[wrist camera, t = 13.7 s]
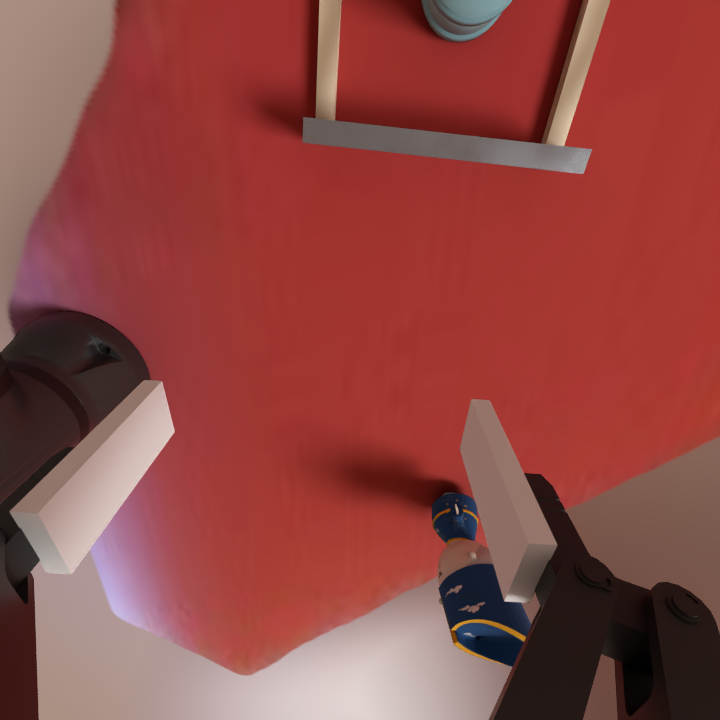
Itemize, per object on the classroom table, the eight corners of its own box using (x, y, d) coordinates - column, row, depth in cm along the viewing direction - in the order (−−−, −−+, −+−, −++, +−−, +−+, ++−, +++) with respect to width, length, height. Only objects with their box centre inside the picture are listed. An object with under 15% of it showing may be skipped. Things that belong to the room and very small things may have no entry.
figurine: (419, 468, 51) (436, 630, 34) (489, 459, 50) (545, 623, 32) (433, 529, 57) (454, 693, 40) (496, 522, 56) (547, 690, 38)
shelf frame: (316, 144, 33) (314, 144, 32) (330, -220, 23) (327, -237, 22) (550, 170, 33) (555, 171, 32) (661, -184, 23) (674, -200, 22)
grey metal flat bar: (316, 144, 33) (302, 142, 28) (317, 123, 32) (303, 117, 27) (551, 170, 33) (583, 173, 28) (557, 150, 32) (591, 149, 27)
